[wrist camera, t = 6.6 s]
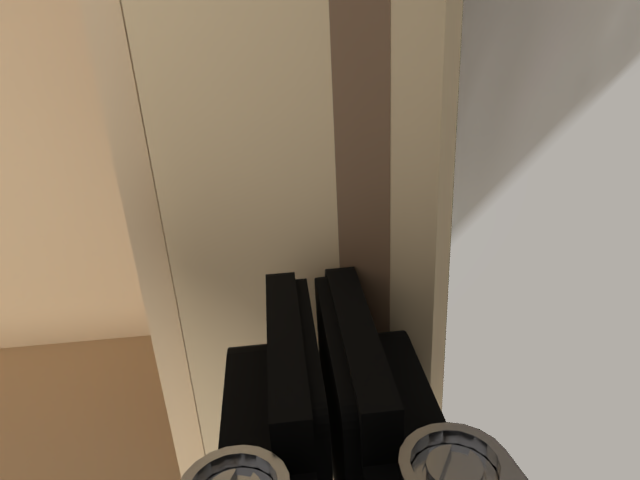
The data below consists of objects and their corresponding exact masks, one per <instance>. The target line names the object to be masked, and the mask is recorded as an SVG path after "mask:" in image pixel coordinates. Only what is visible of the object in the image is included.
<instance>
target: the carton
mask: <svg viewBox="0 0 640 480" xmlns="http://www.w3.org/2000/svg"><path fill="white" fill-rule="evenodd" d="M205 455H206V454H205V449H204V443H203V438H202V432H201V427H200V422H199V416H198V411H197V406H196V400H195V395H194V389H193V384H192V379H191V373H190V368H189V362H188V357H187V352H186V346H185V341H184V336H183V330H182V325H181V319H180V314H179V309H178V303H177V298H176V293H175V287H174V282H173V276H172V271H171V266H170V260H169V255H168V249H167V244H166V239H165V233H164V228H163V223H162V217H161V212H160V206H159V201H158V196H157V190H156V185H155V180H154V174H153V169H152V163H151V158H150V153H149V147H148V142H147V137H146V131H145V126H144V120H143V115H142V110H141V104H140V99H139V93H138V88H137V83H136V77H135V72H134V67H133V61H132V56H131V50H130V45H129V40H128V34H127V29H126V24H125V18H124V13H123V7H122V2H121V0H0V480H180V479H181V478H182V476H183V474H184V473H185V472H186V471H187V470H188V469H189V468H190V467H191V465H192V464H193V463H194V462H195V461H197V460H199V459H200V458H202V457H203V456H205Z"/></svg>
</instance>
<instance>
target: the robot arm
mask: <svg viewBox="0 0 640 480" xmlns="http://www.w3.org/2000/svg"><path fill="white" fill-rule="evenodd" d="M314 280H315V299H316V315H317V331H318V344H317V338H316V332H315V326H314V320H313V314H312V308H311V302H310V296H309V290H308V284H307V278H305V279H295V272H288V273H277V274H266V324H267V344H258V345H248V346H238V347H229V348H228V349H227V356H226V367H225V378H224V389H223V400H222V411H221V422H220V433H219V444H218V450H215V451H212V452H210V453H208V454H207V455H205V456H203V457H202V458H200V459H199V460H197V461H195V462H194V463H193V464H192V465H191V467H190V468H189V469H188V470H187V471H186V472H185V473H184V474H183V476H182V478H181V479H180V480H333V478H334V480H528V478H527V477H526V476H525V474H524V473H523V472H522V471H521V469H520V468H519V467H518V465H517V464H516V463H515V461H514V460H513V459H512V457H511V456H510V455H509V453H508V452H507V451H506V449H505V448H504V447H503V446H502V445H501V444H499V442H498V441H497V440H496V439H495V438H493V437H492V436H490V435H488V434H486V433H485V432H483V431H482V430H480V429H477V428H474V427H471V426H468V425H465V424H459V423H450V422H446V421H445V419H444V416H443V414H442V411H441V409H440V407H439V405H438V402H437V400H436V398H435V395H434V393H433V391H432V388H431V386H430V384H429V382H428V379H427V377H426V375H425V372H424V370H423V368H422V366H421V363H420V361H419V359H418V356H417V354H416V352H415V350H414V347H413V345H412V343H411V340H410V338H409V336H408V334H407V332H406V331H404V330H400V331H390V332H380V333H378V332H377V330H376V327H375V324H374V321H373V318H372V315H371V312H370V310H369V307H368V304H367V301H366V298H365V295H364V292H363V290H362V287H361V284H360V281H359V278H358V275H357V272H356V269H355V267H344V268H333V269H325V277H317V278H315V279H314ZM318 347H319V350H318Z"/></svg>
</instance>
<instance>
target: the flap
mask: <svg viewBox="0 0 640 480" xmlns="http://www.w3.org/2000/svg"><path fill="white" fill-rule="evenodd" d="M121 2H122V7H123V13H124V18H125V24H126V29H127V34H128V40H129V45H130V50H131V56H132V61H133V67H134V72H135V77H136V83H137V88H138V93H139V99H140V104H141V110H142V115H143V120H144V126H145V131H146V137H147V142H148V147H149V153H150V158H151V163H152V169H153V174H154V180H155V185H156V190H157V196H158V201H159V206H160V212H161V217H162V223H163V228H164V233H165V239H166V244H167V249H168V255H169V260H170V266H171V271H172V276H173V282H174V287H175V293H176V298H177V303H178V309H179V314H180V319H181V325H182V330H183V336H184V341H185V346H186V352H187V357H188V362H189V368H190V373H191V379H192V384H193V389H194V395H195V400H196V406H197V411H198V416H199V422H200V427H201V432H202V438H203V443H204V449H205V454H206V455H207V454H208V453H210V452H212V451H215V450H218V444H219V433H220V422H221V411H222V400H223V389H224V378H225V367H226V356H227V349H228V348H229V347H238V346H248V345H258V344H267V324H266V274H277V273H288V272H295V279H305V278H307V284H308V290H309V296H310V302H311V308H312V314H313V320H314V326H315V332H316V338H317V344H318V331H317V315H316V299H315V280H314V279H315V278H317V277H325V269H333V268H344V267H355V269H356V272H357V275H358V278H359V281H360V284H361V287H362V290H363V292H364V295H365V298H366V301H367V304H368V307H369V310H370V312H371V315H372V318H373V321H374V324H375V327H376V330H377V332H378V333H380V332H390V331H400V330H404V331H406V332H407V334H408V336H409V338H410V340H411V343H412V345H413V347H414V350H415V352H416V354H417V356H418V359H419V361H420V363H421V366H422V368H423V370H424V372H425V375H426V377H427V379H428V382H429V384H430V386H431V388H432V391H433V393H434V395H435V398H436V400H437V402H438V405H439V407H440V409H441V411H442V397H443V378H444V359H445V340H446V320H447V302H448V282H449V263H450V245H451V226H452V207H453V188H454V169H455V150H456V131H457V112H458V93H459V74H460V55H461V36H462V17H463V0H121ZM318 350H319V347H318ZM333 480H334V478H333Z"/></svg>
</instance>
